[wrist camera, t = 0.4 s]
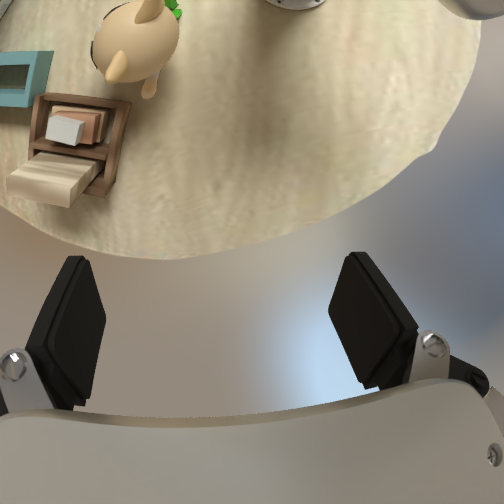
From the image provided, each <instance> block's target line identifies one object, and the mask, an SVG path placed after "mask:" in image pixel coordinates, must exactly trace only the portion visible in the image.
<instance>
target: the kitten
mask: <svg viewBox="0 0 504 504" xmlns="http://www.w3.org/2000/svg"><path fill="white" fill-rule="evenodd" d="M178 5H179V4H177V2H176V0H138V1H133V2H128V3H125V4H123V5H120V6H118V7H115V8H114V9H112V10H111V11H110V12H109V13H108V14H107V15H106V16H105V17H104V19H103V22H102V23H101V24H100V26H99V28H98V29H97V31H96V34H95V37H94V40H93V41H92V43H91V58H92V61H93V58H94V61H95V62H94V61H93V63H94V65H95V66H96V68H97V67H98V69H99V70H100V71H101V73H102V74H104V75H105V81H106V83H107V84H109V85H112V84H115V83H120V82H124V83H129V82H137V81H140V80H143V79H145V82H144V84H143V86H142V89H141V96H142V97H143V98H144V99H150V98H152V97H153V96H154V94H155V93H156V90H157V79H158V76H159V73H160V70H161V68H162V67H163V66H164V65H165V64H166V63H167V62H168V61H169V60H170V58H171V57H172V55H173V53H174V51H175V49H176V46H177V43H178V39H179V27H178V22H177V20H176V19H177V18H179V17H180V15H182V12H181V9H176V10H174V9H175V8H176V7H177V6H178ZM170 9H172V11H171V10H170ZM92 54H93V56H92Z"/></svg>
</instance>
